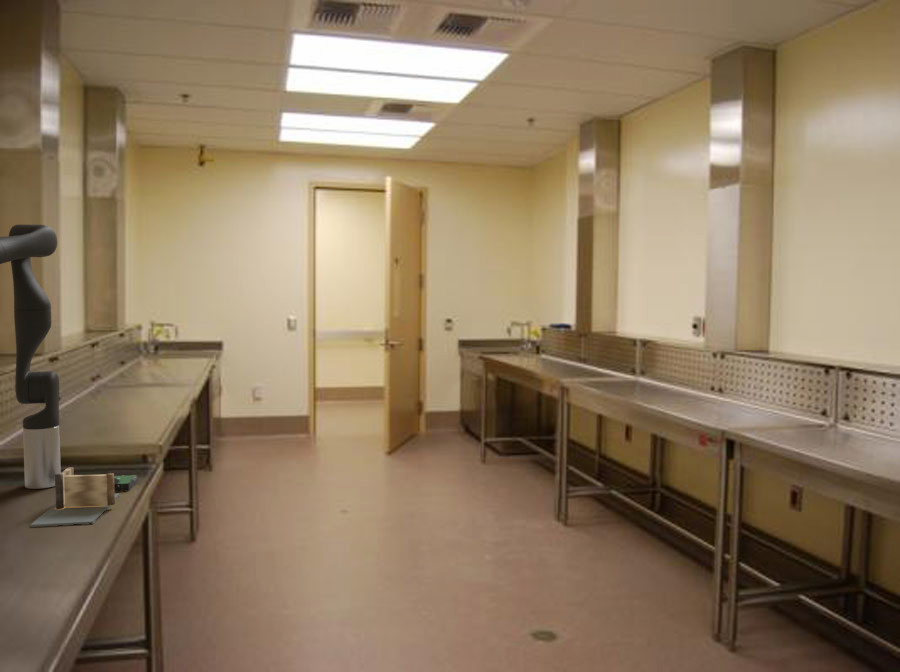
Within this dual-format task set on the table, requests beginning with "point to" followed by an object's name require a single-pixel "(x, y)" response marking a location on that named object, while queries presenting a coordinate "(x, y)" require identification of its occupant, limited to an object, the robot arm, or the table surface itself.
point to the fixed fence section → (61, 487)
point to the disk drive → (124, 482)
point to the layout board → (70, 515)
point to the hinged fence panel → (89, 490)
